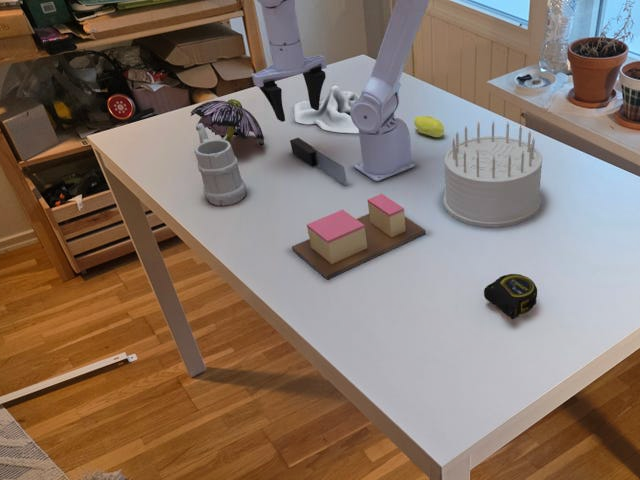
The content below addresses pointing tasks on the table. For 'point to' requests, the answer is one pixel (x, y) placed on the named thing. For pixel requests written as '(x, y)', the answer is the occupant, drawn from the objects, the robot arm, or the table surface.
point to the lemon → (429, 126)
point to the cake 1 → (337, 236)
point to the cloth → (329, 112)
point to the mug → (219, 170)
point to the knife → (318, 159)
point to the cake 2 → (492, 180)
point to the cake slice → (386, 215)
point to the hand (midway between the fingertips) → (298, 114)
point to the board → (375, 246)
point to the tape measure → (512, 294)
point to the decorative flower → (228, 120)
